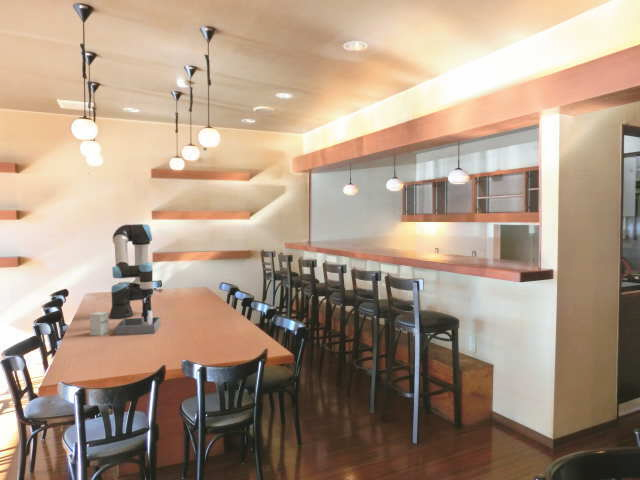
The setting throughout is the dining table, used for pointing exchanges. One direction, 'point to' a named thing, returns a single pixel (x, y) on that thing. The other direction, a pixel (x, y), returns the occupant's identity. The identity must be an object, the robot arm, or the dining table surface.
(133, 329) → the tote
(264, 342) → the dining table surface
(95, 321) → the supplement box
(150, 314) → the medicine box
